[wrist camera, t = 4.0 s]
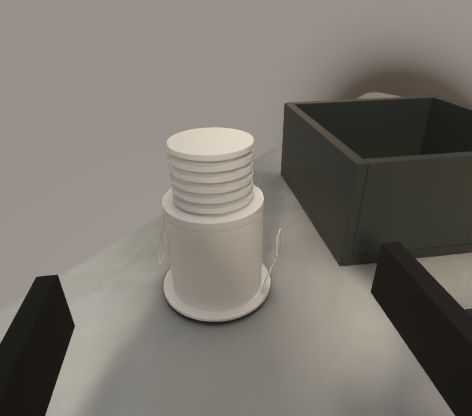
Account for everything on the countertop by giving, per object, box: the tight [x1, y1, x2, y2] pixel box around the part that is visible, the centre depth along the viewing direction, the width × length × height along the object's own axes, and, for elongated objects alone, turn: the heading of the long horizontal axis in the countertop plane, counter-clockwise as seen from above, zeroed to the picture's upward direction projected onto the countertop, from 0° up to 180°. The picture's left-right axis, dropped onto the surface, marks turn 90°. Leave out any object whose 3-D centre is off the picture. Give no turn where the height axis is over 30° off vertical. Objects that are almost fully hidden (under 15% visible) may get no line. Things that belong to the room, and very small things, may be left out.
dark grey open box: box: [281, 96, 472, 266], centre depth 31 cm, size 17×17×8 cm
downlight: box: [157, 127, 281, 322], centre depth 21 cm, size 8×7×10 cm
